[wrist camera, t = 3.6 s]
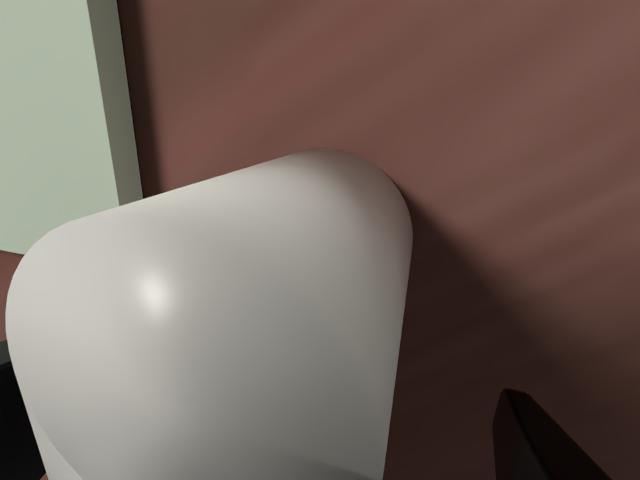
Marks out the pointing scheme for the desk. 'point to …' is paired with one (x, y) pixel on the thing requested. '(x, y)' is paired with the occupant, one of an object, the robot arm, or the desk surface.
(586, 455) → the robot arm
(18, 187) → the sage mat
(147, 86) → the desk surface
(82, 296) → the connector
